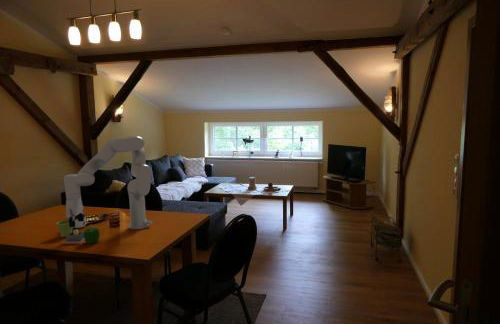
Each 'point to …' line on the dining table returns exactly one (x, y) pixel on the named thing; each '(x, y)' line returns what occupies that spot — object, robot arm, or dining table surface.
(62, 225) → the plant pot
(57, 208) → the dining table surface
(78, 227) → the spread jar
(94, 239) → the bell pepper
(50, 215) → the dining table surface
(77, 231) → the keeper
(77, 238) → the dark grey rectangular frame
